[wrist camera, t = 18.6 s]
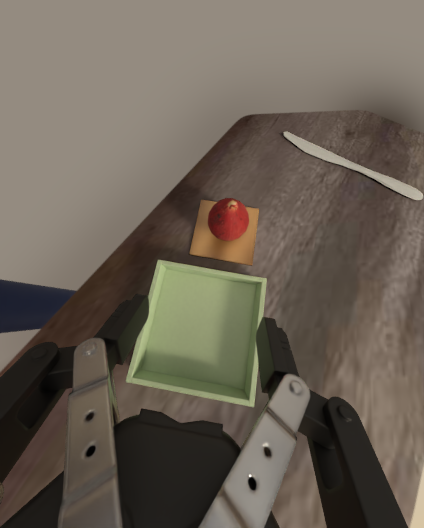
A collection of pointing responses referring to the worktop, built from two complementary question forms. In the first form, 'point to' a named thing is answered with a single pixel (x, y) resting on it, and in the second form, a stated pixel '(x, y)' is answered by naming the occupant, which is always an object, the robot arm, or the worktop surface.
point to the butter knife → (354, 167)
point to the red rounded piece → (228, 219)
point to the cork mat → (220, 249)
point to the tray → (200, 333)
